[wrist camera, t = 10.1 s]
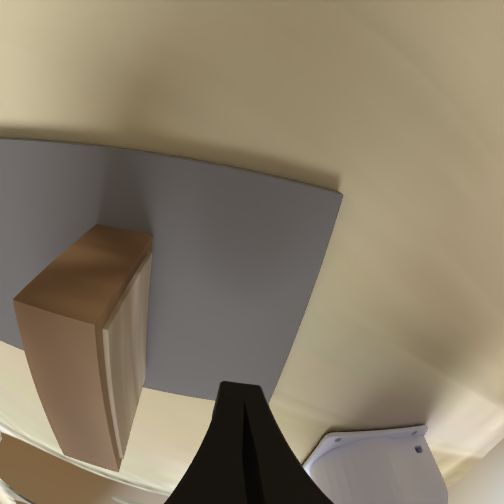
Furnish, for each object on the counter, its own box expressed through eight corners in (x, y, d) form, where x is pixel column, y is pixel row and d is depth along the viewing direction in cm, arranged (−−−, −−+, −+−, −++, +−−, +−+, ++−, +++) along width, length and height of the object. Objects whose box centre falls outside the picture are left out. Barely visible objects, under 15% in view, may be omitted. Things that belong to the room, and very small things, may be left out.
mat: (338, 191, 12) (343, 194, 12) (266, 398, 17) (267, 406, 16) (-28, 137, 10) (-35, 138, 9) (-8, 329, 14) (-12, 335, 14)
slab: (156, 235, 12) (100, 326, 6) (147, 377, 15) (122, 473, 9) (96, 224, 12) (12, 299, 6) (100, 365, 15) (63, 454, 9)
